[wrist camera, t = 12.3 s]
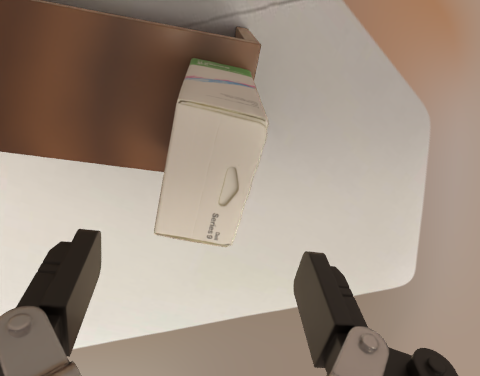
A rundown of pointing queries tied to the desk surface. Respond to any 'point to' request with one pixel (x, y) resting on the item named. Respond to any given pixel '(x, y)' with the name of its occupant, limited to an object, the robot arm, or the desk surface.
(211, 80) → the ink box
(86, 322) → the desk surface
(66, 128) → the shelf
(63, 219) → the desk surface
